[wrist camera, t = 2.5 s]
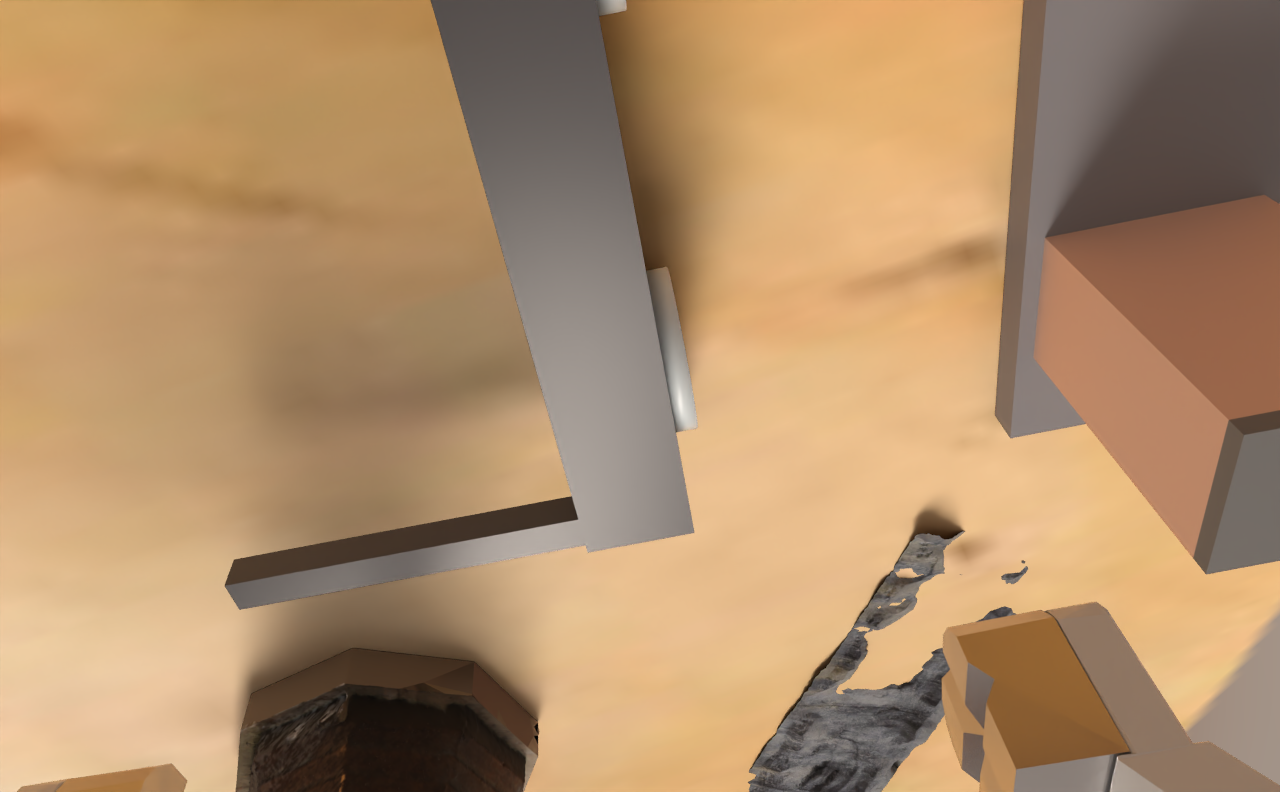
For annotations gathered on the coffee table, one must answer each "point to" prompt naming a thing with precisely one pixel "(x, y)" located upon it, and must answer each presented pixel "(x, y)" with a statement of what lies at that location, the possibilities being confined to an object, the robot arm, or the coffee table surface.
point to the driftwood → (863, 701)
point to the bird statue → (386, 729)
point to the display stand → (1153, 255)
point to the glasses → (545, 311)
